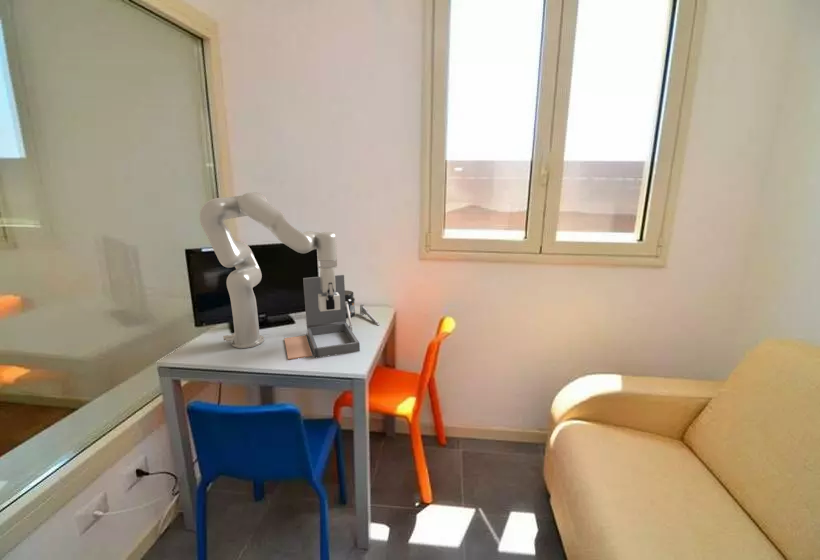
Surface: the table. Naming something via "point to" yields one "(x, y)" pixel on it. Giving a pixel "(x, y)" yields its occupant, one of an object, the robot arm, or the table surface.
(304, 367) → the table surface
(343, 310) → the equipment case
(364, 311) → the caliper
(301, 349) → the rubber mat
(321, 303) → the module
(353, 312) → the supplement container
